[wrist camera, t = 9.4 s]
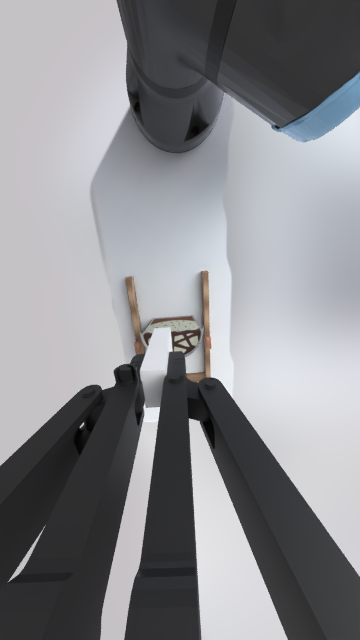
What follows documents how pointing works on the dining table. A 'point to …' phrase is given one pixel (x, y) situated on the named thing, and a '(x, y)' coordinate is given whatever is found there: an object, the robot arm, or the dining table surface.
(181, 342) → the food container
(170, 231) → the dining table surface
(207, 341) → the slot rails
